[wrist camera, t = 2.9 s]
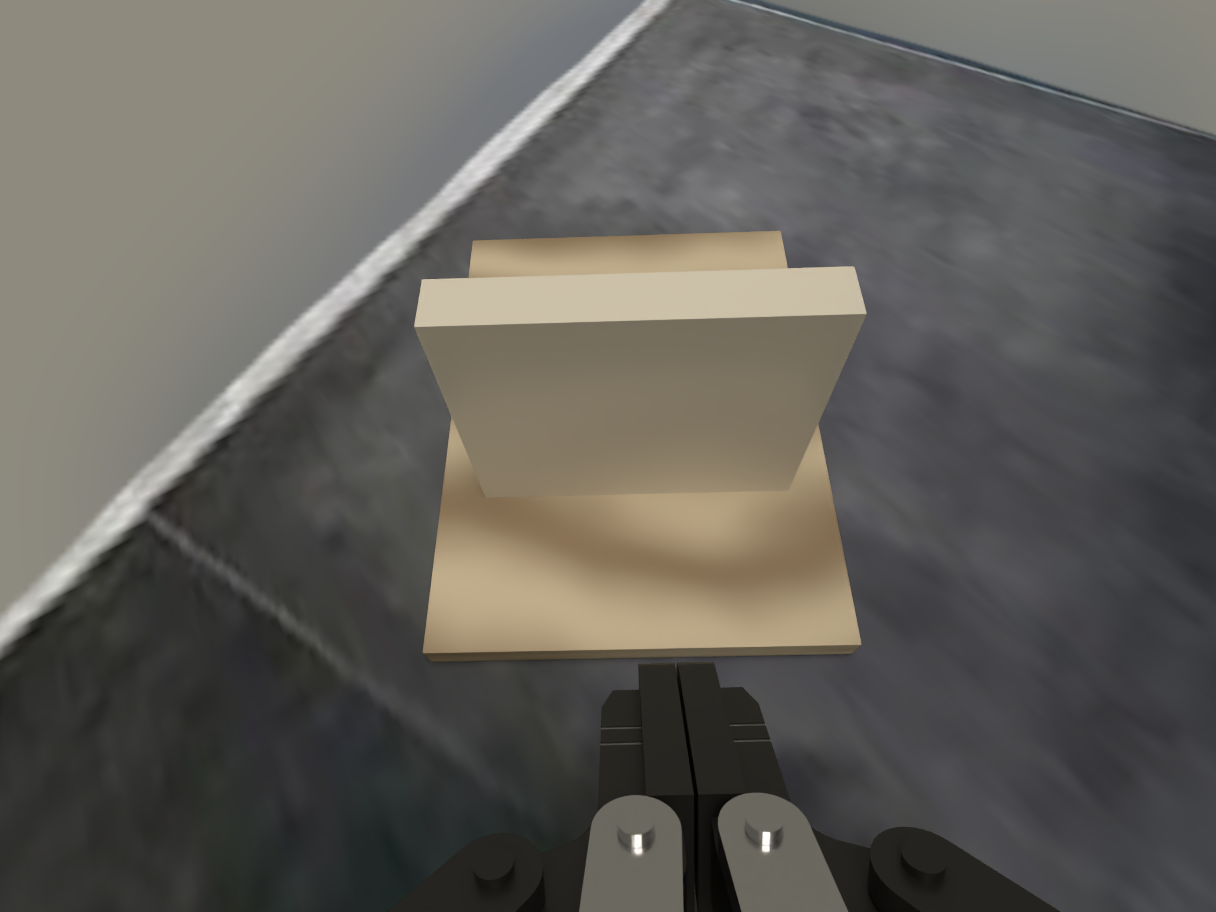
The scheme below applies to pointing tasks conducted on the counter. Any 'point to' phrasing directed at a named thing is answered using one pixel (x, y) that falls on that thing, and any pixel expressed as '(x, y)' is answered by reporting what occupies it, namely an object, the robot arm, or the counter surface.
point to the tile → (639, 376)
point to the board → (637, 527)
